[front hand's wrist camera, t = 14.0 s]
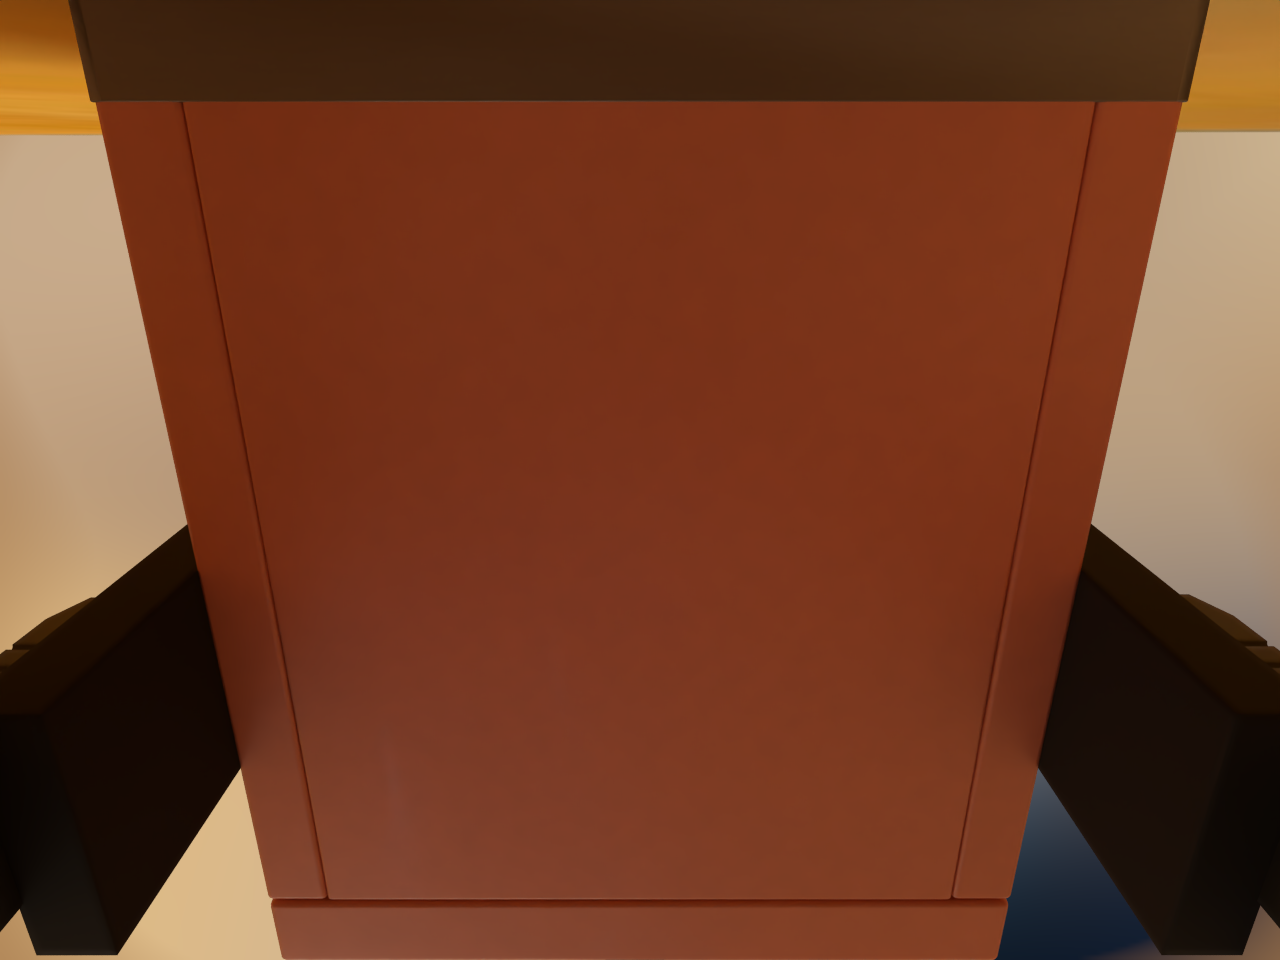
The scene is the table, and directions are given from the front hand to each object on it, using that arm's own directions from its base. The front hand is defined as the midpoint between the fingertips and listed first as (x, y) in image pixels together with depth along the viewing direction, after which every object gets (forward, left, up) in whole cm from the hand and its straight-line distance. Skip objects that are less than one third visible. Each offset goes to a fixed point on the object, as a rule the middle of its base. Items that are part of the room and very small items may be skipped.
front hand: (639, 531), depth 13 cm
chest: (+2, -3, -7) cm, 8 cm away
